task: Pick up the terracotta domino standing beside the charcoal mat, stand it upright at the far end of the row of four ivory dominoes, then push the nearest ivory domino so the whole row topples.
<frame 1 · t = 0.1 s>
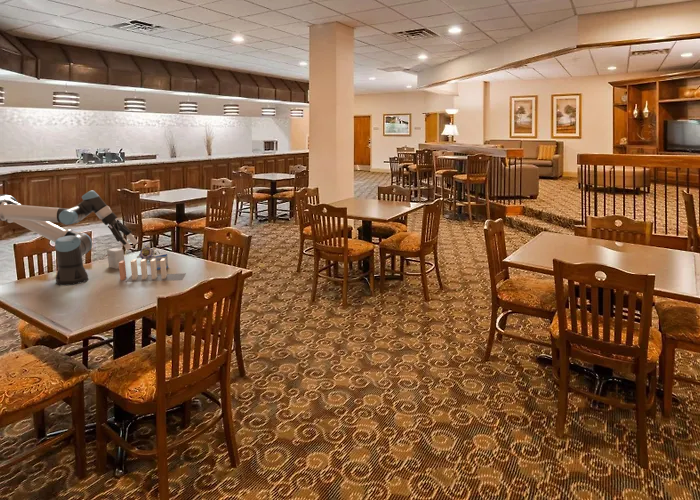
hand: (133, 246, 282), 15 cm above the table, tool tilted 35°, fingers open, 13 cm apart
domino 3: (154, 277, 274), resting on domino mat
domino 2: (144, 278, 273), resting on domino mat
terracotta domino: (123, 279, 272), on the table
domino 1: (135, 278, 272), resting on domino mat
passion flower: (149, 261, 310), on the table
domino 4: (164, 277, 275), resting on domino mat
small box: (117, 267, 297), on the table
domino mat: (156, 278, 274), on the table
medicine box: (160, 269, 293), on the table
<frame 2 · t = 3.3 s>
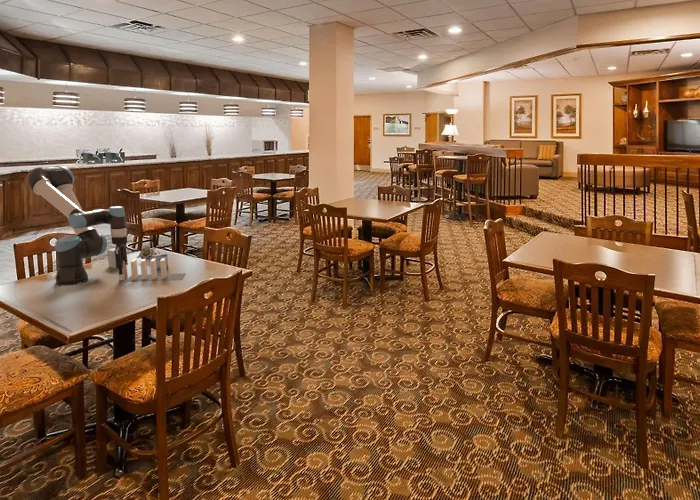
hand: (123, 278, 272), 1 cm above the table, tool pointing down, fingers closed on terracotta domino, 5 cm apart
terracotta domino: (123, 279, 272), on the table, touching gripper
everything else where it was.
when the fingers open (2 cm above the table, at t = 9.5 s): terracotta domino drops 1 cm, resting on domino mat.
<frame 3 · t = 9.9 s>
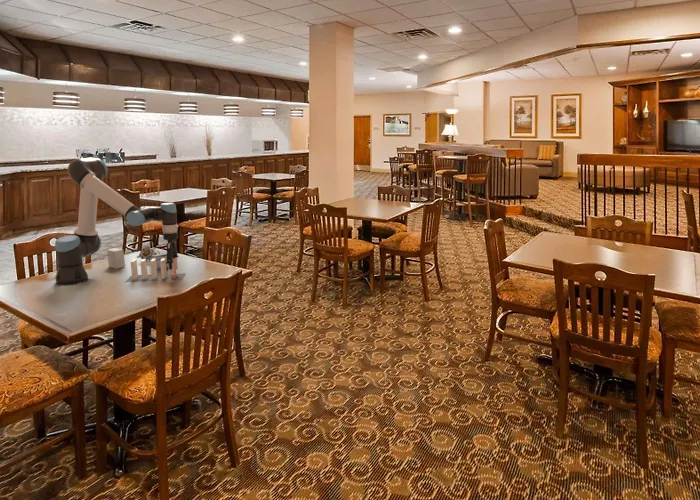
hand: (173, 272, 275), 3 cm above the table, tool pointing down, fingers open, 10 cm apart
terracotta domino: (173, 277, 276), resting on domino mat
everything else where it was.
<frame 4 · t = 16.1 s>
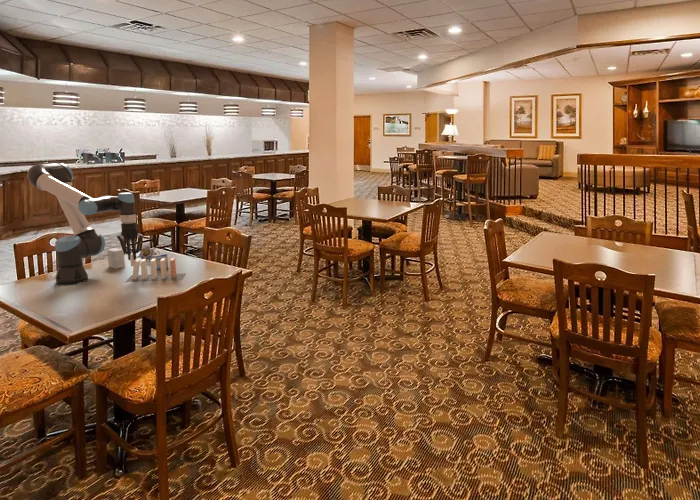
hand: (133, 265, 271), 8 cm above the table, tool pointing down, fingers closed
domino 1: (135, 278, 272), point 1 cm above the table, tilted 11°, touching domino mat
everything else where it was.
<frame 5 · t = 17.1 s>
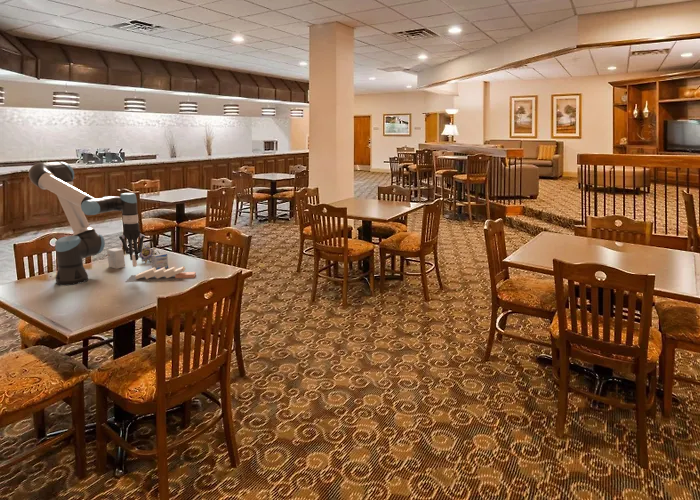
hand: (135, 265, 271), 7 cm above the table, tool pointing down, fingers closed
domino 3: (157, 276, 274), point 1 cm above the table, tilted 69°, touching domino 2, domino 4, domino mat
domino 2: (146, 276, 273), point 1 cm above the table, tilted 70°, touching domino 1, domino 3, domino mat
terracotta domino: (176, 275, 275), point 1 cm above the table, tilted 90°, touching domino 4, domino mat
domino 1: (136, 276, 272), point 1 cm above the table, tilted 69°, touching domino 2
domino 4: (166, 275, 275), point 1 cm above the table, tilted 68°, touching domino 3, domino mat, terracotta domino
everything else where it was.
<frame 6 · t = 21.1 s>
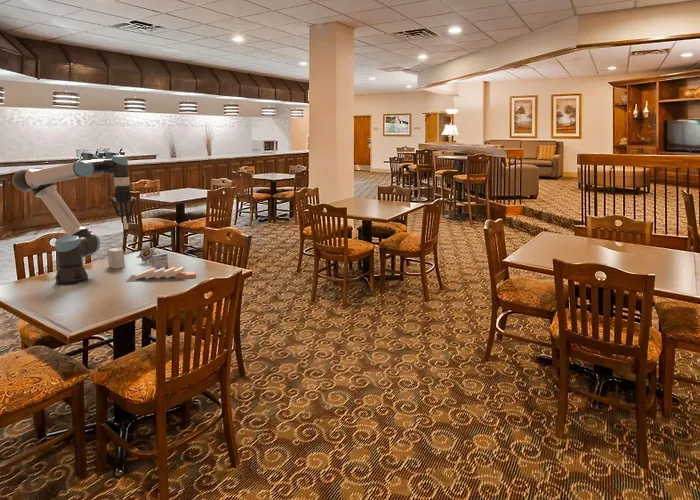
hand: (126, 228, 273), 26 cm above the table, tool pointing down, fingers closed
domino 1: (137, 276, 272), point 1 cm above the table, tilted 69°, touching domino 2, domino mat
domino 4: (166, 275, 275), point 1 cm above the table, tilted 69°, touching domino 3, terracotta domino
everything else where it was.
at the end: terracotta domino tilted 90°; terracotta domino inside the target area (3.7 cm from its centre), point 1.4 cm above the table; domino 1 tilted 69° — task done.
